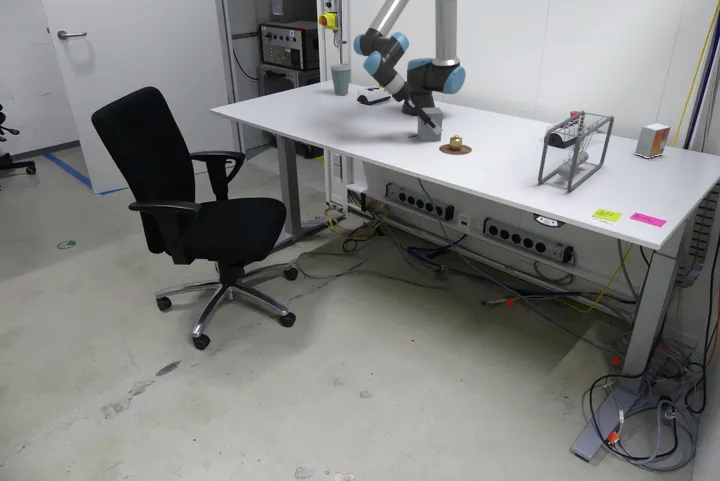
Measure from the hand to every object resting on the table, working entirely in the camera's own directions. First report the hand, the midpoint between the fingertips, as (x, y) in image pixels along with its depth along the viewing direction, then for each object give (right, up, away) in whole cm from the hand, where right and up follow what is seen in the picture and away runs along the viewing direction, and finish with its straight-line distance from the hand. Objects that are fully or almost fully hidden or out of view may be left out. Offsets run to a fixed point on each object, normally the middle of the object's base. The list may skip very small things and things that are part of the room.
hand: (437, 128), depth 197 cm
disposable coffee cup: (-40, +32, +66) cm, 83 cm away
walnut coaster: (+5, -10, -9) cm, 15 cm away
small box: (+73, -13, -16) cm, 76 cm away
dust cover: (-3, -3, +2) cm, 5 cm away
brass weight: (+5, -10, -10) cm, 15 cm away
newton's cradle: (+39, -22, -30) cm, 54 cm away
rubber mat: (-3, -4, +2) cm, 5 cm away
